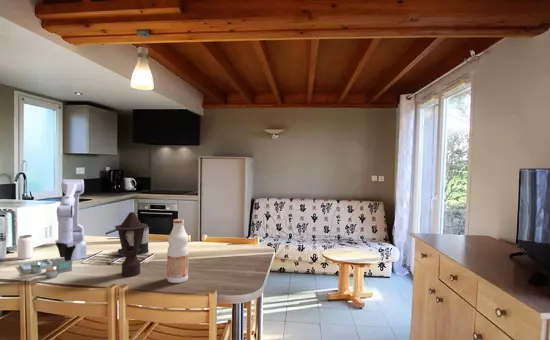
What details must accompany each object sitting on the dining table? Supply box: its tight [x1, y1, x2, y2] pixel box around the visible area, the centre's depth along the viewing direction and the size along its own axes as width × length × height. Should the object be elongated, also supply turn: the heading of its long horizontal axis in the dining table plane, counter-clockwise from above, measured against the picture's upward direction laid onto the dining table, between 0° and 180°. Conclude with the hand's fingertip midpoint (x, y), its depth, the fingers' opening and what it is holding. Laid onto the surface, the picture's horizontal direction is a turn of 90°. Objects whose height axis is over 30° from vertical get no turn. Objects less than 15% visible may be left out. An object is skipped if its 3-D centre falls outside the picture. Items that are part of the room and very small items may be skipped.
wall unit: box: [51, 257, 73, 275], centre depth 153 cm, size 7×5×6 cm
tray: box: [18, 258, 52, 274], centre depth 158 cm, size 12×12×2 cm
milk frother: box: [117, 226, 150, 258], centre depth 184 cm, size 14×16×15 cm
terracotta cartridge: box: [45, 265, 58, 280], centre depth 146 cm, size 4×4×5 cm
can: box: [17, 234, 34, 261], centre depth 172 cm, size 6×6×12 cm
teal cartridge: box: [30, 260, 42, 275], centre depth 151 cm, size 4×4×5 cm
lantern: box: [114, 211, 149, 278], centre depth 152 cm, size 15×15×30 cm
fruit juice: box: [166, 218, 189, 284], centre depth 146 cm, size 9×9×28 cm
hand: (65, 258), depth 149 cm, fingers open, 7 cm apart
